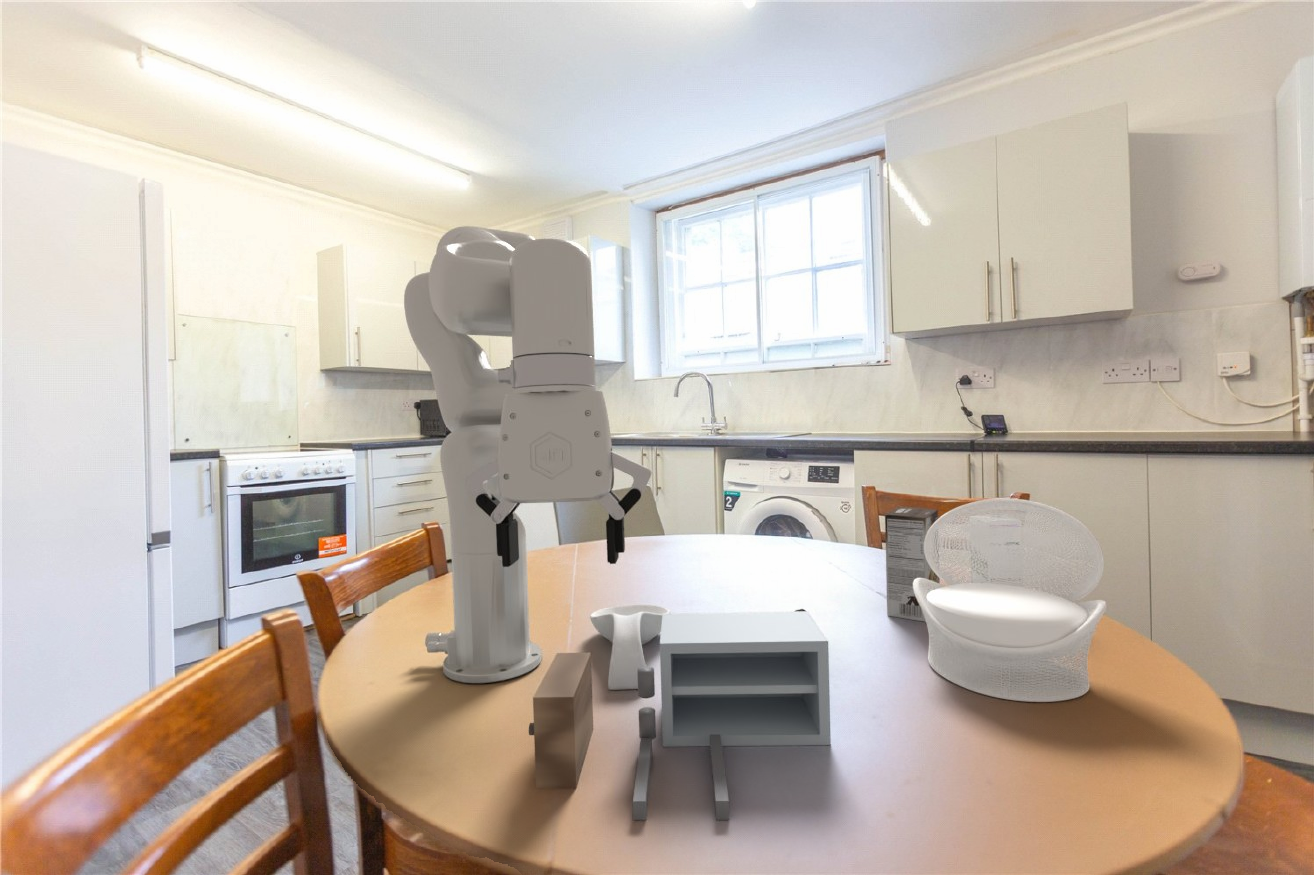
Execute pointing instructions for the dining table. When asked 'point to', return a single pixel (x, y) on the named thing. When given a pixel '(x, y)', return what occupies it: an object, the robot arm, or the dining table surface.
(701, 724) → the cabinet
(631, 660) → the spoon rest
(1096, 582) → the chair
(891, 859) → the dining table surface
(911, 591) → the coffee box
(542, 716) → the door
